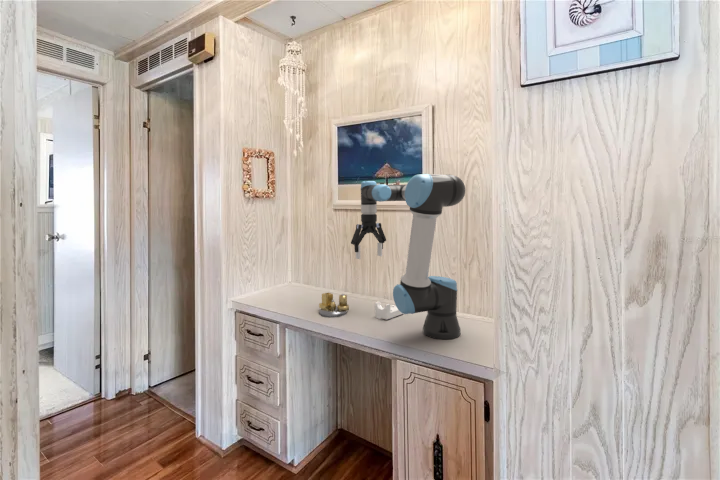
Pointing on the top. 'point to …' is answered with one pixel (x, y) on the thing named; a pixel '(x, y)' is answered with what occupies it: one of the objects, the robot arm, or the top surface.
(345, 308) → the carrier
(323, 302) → the brass square sleeve
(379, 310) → the bracket
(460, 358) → the top surface
